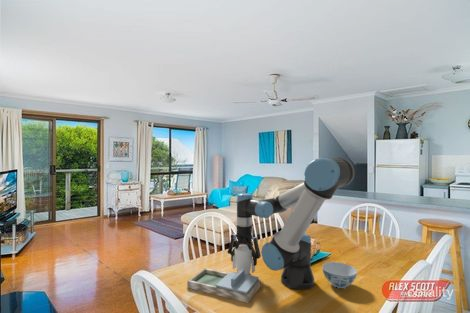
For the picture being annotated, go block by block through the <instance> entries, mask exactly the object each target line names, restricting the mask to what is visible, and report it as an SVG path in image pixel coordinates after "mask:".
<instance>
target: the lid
mask: <svg viewBox="0 0 470 313" xmlns="http://www.w3.org/2000/svg"><path fill="white" fill-rule="evenodd" d="M227 273H228V274H227V275H226V276H225V277H224V278H223V279H222V280H221V281H220V282H219V283H217V284H216V287H219V288H223V289H227V290H232V291H236V292H240V293H244V294H247V293H248V292H249V290H250V289H251V288H252V287H253V285H254V284H255V283H256V281H257V280H258V279H259V276H256V275H251V274H250V275H246V274H244V269H241V270H240V271H239V272H238V273H237V271H236V272H235V271H229V272H227ZM259 280H260V279H259Z"/></svg>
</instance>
